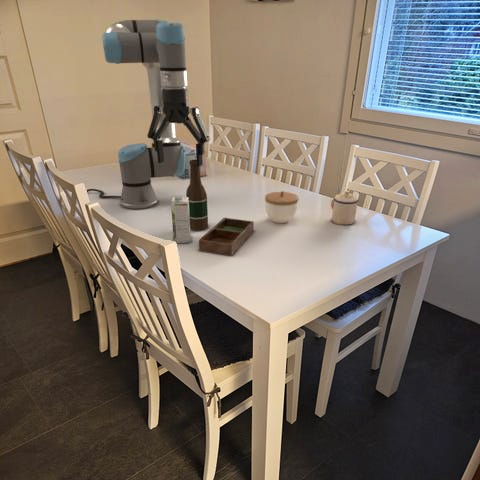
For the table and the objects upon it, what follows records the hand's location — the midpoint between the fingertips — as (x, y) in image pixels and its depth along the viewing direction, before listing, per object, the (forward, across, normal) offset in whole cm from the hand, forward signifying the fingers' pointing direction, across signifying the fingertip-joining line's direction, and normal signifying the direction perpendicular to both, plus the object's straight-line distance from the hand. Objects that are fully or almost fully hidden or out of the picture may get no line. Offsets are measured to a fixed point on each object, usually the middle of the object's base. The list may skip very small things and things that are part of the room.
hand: (180, 163), depth 133 cm
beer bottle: (+26, -1, +12) cm, 28 cm away
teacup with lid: (+26, +49, +37) cm, 66 cm away
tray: (+26, +14, +4) cm, 29 cm away
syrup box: (+26, -1, -1) cm, 26 cm away
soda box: (+25, -45, +86) cm, 100 cm away
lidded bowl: (+26, +26, +30) cm, 47 cm away
